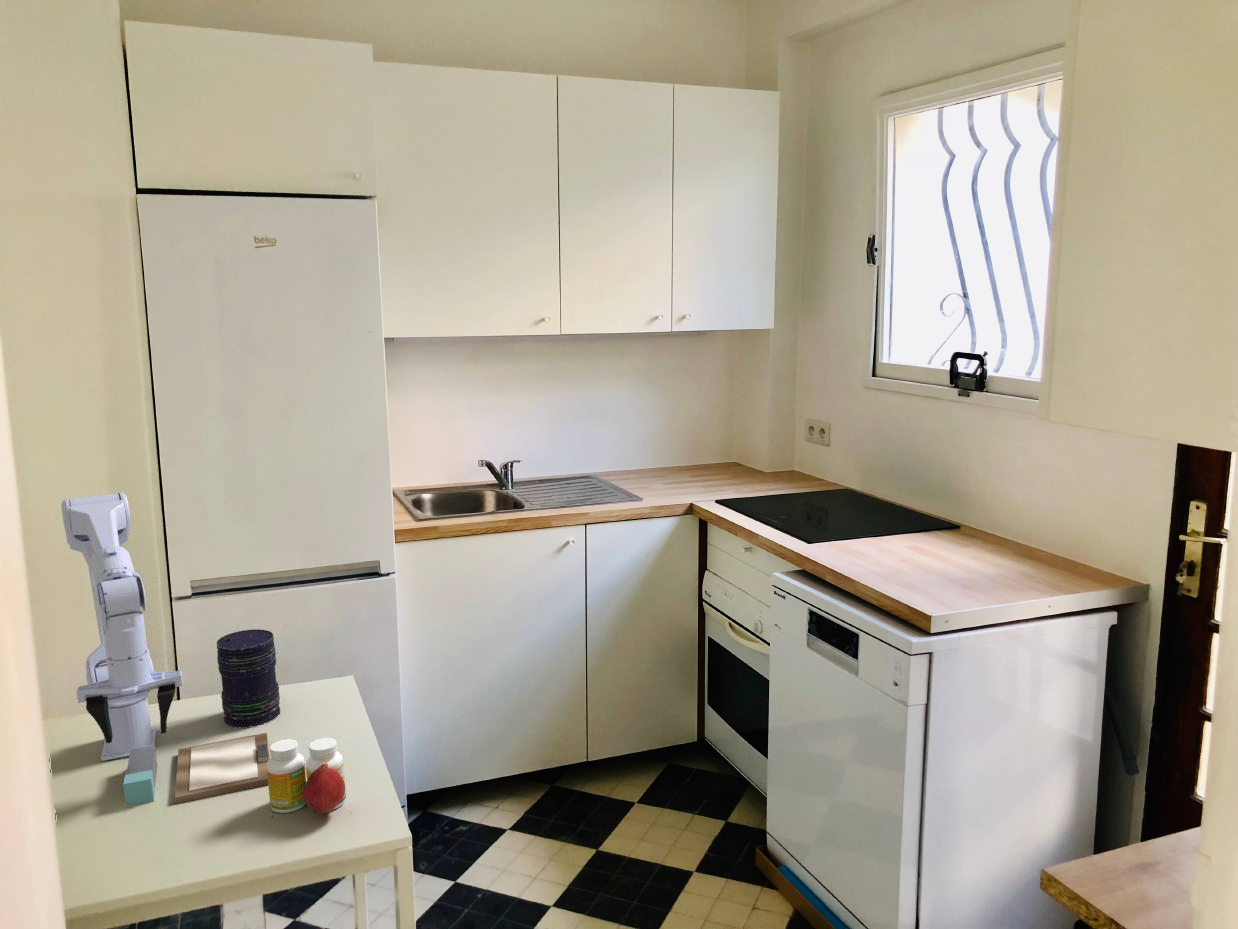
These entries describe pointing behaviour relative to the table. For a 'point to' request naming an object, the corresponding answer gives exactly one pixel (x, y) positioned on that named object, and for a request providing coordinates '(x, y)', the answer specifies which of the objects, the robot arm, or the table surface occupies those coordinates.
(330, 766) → the supplement bottle
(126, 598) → the robot arm
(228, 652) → the dark blue cylinder
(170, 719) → the table surface
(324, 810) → the onion
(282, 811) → the supplement bottle
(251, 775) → the clipboard
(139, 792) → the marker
